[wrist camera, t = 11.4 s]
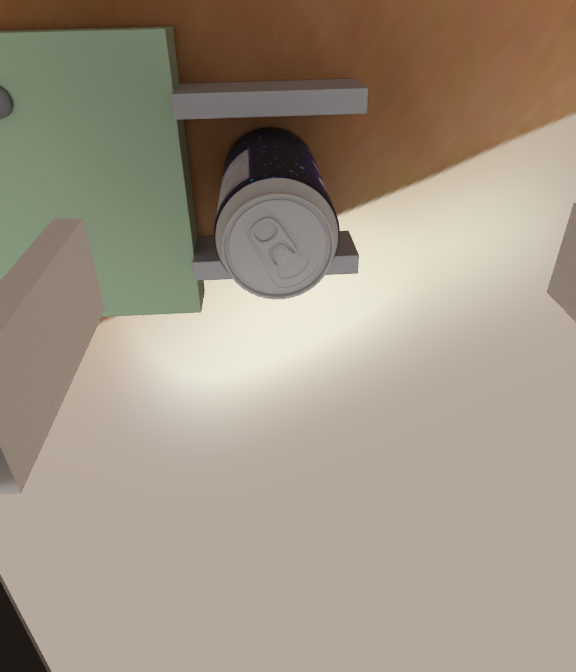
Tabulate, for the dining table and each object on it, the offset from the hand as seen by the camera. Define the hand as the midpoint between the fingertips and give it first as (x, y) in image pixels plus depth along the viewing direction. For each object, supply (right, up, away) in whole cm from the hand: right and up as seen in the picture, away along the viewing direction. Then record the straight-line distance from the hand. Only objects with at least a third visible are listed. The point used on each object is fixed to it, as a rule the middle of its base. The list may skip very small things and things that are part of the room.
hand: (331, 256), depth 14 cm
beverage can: (-2, +8, +18) cm, 20 cm away
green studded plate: (-8, +8, +18) cm, 21 cm away
